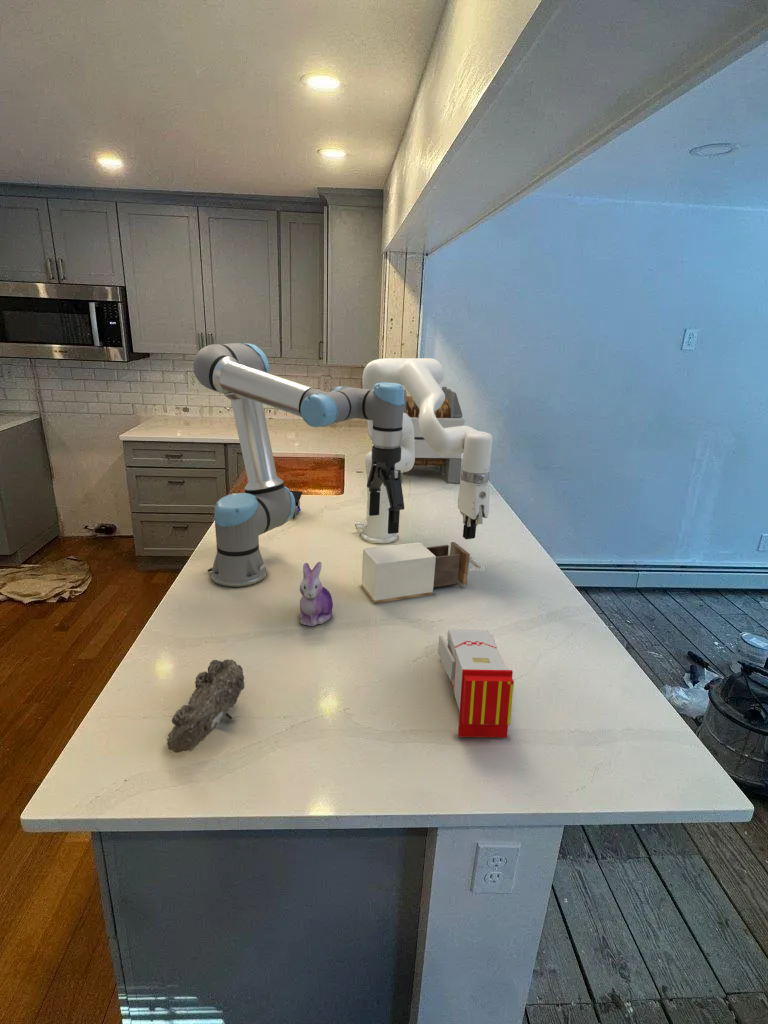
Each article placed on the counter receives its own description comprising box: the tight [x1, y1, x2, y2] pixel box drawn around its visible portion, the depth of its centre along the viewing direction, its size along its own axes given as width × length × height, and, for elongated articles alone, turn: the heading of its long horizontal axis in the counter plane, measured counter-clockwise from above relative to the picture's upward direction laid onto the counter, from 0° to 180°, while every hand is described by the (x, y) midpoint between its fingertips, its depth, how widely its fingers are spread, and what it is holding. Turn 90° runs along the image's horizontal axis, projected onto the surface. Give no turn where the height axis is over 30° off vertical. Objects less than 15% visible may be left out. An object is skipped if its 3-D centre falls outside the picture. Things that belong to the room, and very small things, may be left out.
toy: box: [437, 628, 515, 738], centre depth 117 cm, size 12×13×30 cm
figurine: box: [299, 561, 334, 627], centre depth 141 cm, size 9×10×15 cm
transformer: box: [401, 386, 465, 484], centre depth 268 cm, size 34×33×41 cm
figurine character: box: [289, 490, 303, 520], centre depth 212 cm, size 7×8×15 cm
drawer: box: [425, 541, 485, 588], centre depth 163 cm, size 22×9×10 cm, turn 112°
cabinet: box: [361, 541, 436, 604], centre depth 158 cm, size 17×10×12 cm, turn 112°
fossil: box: [166, 658, 245, 754], centre depth 106 cm, size 22×10×15 cm
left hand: (383, 523), depth 151 cm, fingers open, 13 cm apart
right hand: (468, 537), depth 163 cm, fingers closed
